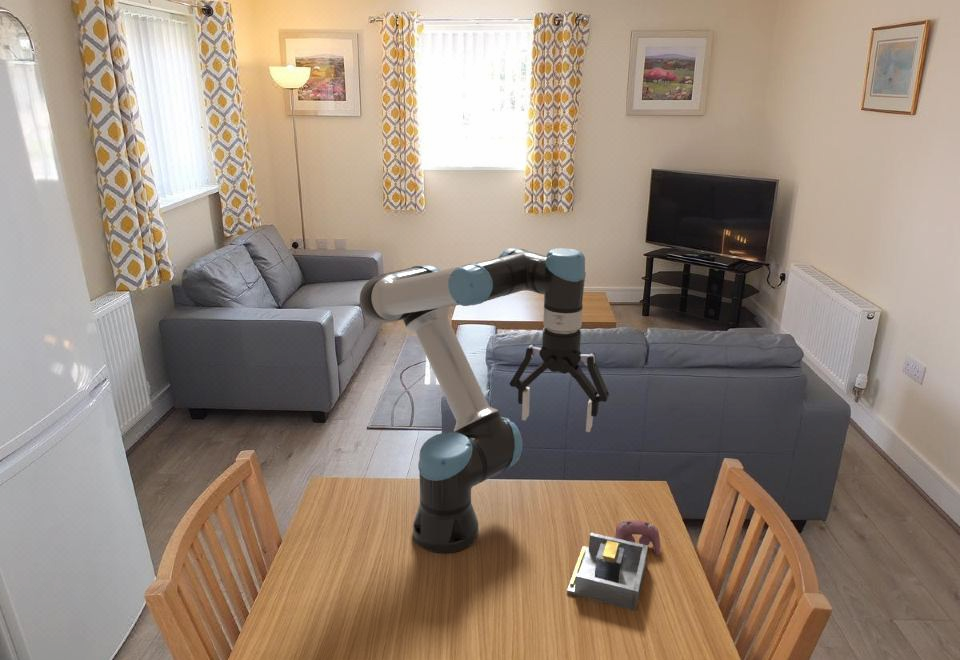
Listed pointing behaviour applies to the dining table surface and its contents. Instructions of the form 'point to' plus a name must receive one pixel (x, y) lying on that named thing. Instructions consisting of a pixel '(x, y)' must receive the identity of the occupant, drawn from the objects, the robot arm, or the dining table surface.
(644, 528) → the video game controller
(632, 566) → the open box
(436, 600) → the dining table surface
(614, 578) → the grey and yellow block
